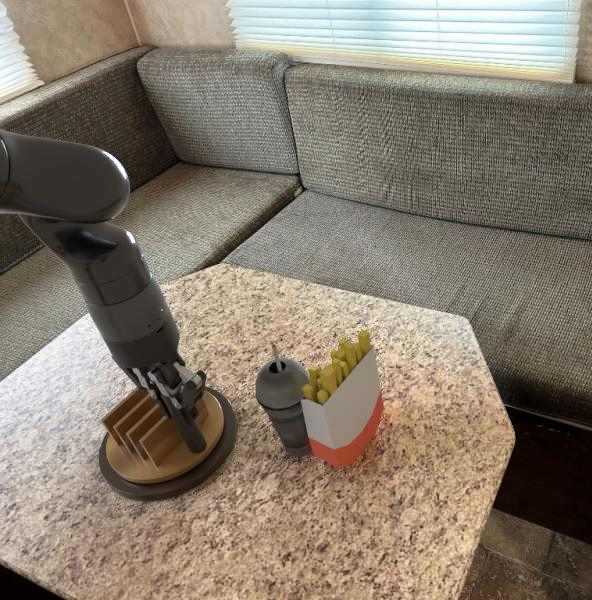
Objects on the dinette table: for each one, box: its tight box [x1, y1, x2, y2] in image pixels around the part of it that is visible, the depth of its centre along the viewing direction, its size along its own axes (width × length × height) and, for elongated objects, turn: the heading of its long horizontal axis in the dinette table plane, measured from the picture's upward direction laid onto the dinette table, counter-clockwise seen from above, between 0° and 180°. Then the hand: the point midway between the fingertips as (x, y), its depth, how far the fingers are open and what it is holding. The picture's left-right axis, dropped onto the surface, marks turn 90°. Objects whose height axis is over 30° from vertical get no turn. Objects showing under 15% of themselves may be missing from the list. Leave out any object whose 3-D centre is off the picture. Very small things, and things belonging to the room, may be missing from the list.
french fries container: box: [301, 329, 385, 468], centre depth 78 cm, size 5×11×18 cm, turn 148°
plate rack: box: [100, 386, 224, 483], centre depth 82 cm, size 16×16×12 cm
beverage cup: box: [254, 344, 313, 457], centre depth 78 cm, size 7×7×20 cm
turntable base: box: [98, 385, 239, 502], centre depth 86 cm, size 19×19×2 cm
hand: (182, 416), depth 78 cm, fingers closed on plate rack, 2 cm apart
